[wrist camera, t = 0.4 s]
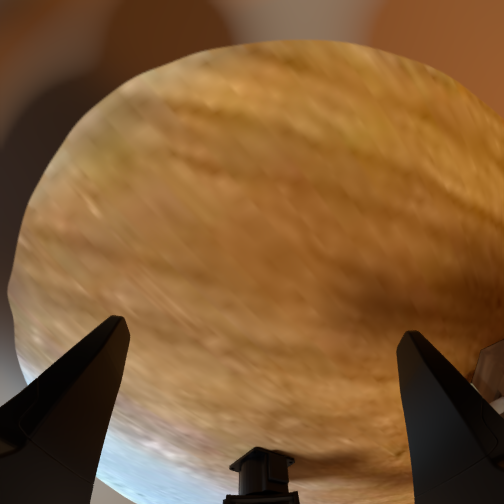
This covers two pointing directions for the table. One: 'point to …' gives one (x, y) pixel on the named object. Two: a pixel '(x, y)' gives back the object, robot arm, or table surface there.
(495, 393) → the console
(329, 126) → the table surface
